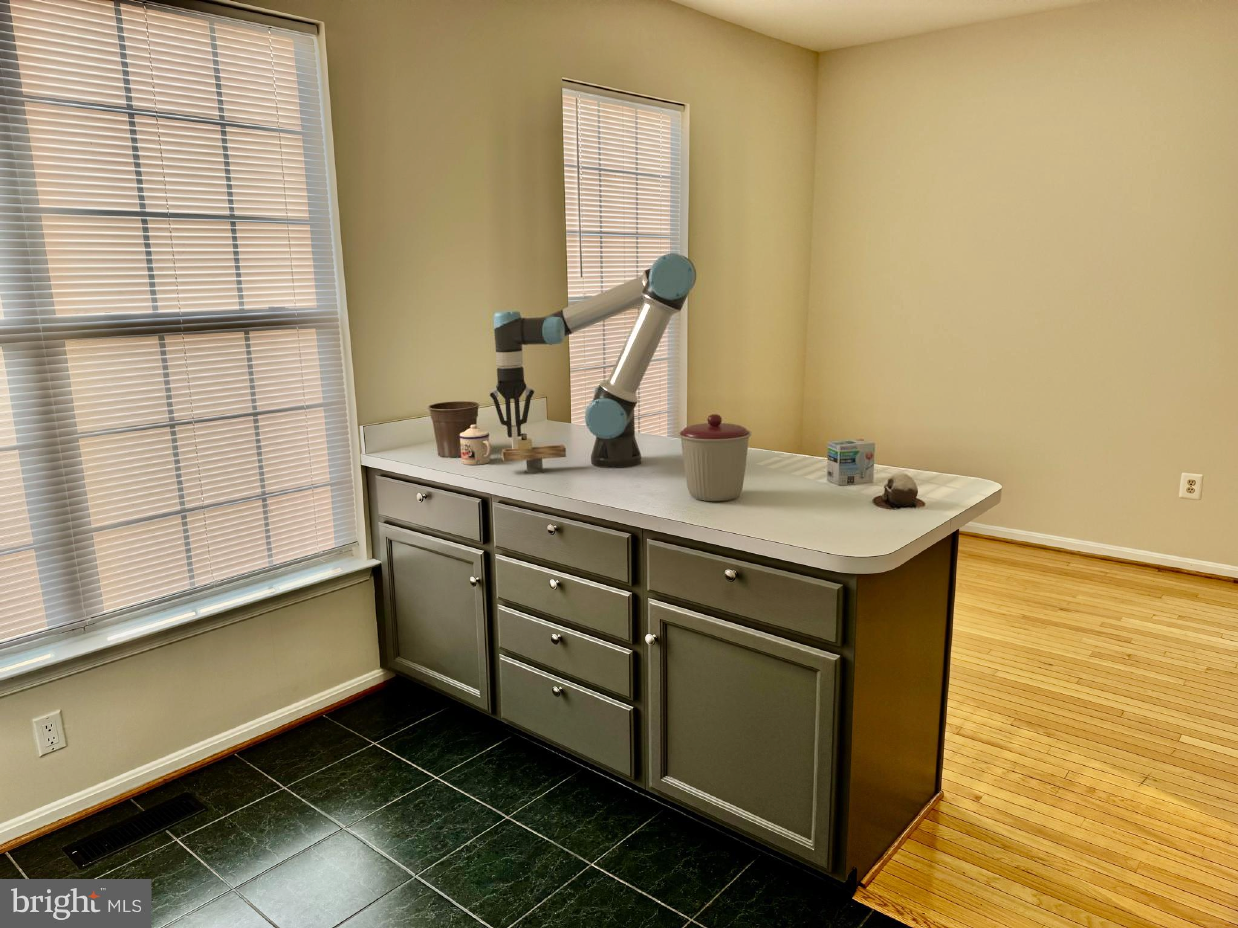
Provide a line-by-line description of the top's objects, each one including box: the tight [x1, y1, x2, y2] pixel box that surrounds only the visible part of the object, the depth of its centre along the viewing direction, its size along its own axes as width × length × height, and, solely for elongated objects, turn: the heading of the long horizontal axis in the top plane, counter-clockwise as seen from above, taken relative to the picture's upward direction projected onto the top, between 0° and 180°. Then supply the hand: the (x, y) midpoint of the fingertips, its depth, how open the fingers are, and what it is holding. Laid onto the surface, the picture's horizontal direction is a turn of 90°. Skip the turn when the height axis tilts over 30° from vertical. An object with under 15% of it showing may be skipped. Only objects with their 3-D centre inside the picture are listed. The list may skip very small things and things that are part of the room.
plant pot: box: [427, 400, 480, 459], centre depth 283 cm, size 16×16×16 cm
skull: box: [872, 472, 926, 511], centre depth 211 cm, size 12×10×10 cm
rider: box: [517, 432, 533, 451], centre depth 255 cm, size 4×3×6 cm
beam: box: [501, 444, 567, 474], centre depth 256 cm, size 18×6×7 cm, turn 103°
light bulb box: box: [826, 438, 876, 486], centre depth 233 cm, size 11×7×11 cm, turn 105°
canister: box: [677, 413, 752, 502], centre depth 220 cm, size 18×18×21 cm
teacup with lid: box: [459, 425, 492, 466], centre depth 269 cm, size 12×9×12 cm
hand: (515, 448), depth 254 cm, fingers closed
